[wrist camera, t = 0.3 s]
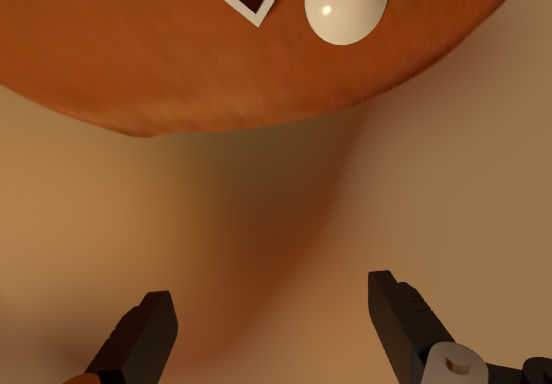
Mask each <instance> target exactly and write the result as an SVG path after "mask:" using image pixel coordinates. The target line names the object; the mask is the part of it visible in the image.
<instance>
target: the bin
mask: <svg viewBox="0 0 552 384" xmlns="http://www.w3.org/2000/svg"><path fill="white" fill-rule="evenodd" d="M225 1H226V2H227V3H229V4H230V5H231V6H232V7H234V8H235V9H236V10H237V11H238V12H240V13H241V14H242V15H243V16H245V17H246V18H247V19H248V20H250V21H251V22H252V23H253V24H254V25H256V26H257V27H259V25H260V24H261V22H262V20H263V19H264V17H265V16H266V14H267V12H268V11H269V9H270V7H271V6H272V4H273V2H274V1H275V0H263V1H262V3H261V4H260V6H259V8H258V10H257V11H256V13H253V12H252V11H251V10H250V9H249V8H247V7H246V6H245V5H244V4H243V3H241V2H240V1H239V0H225Z"/></svg>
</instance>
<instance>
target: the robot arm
mask: <svg viewBox="0 0 552 384" xmlns="http://www.w3.org/2000/svg"><path fill="white" fill-rule="evenodd" d="M368 308H369V313H370V317H371V320H372V323H373V325H374V327H375V329H376V332H377V334H378V336H379V339H380V341H381V343H382V345H383V348H384V350H385V352H386V354H387V357H388V359H389V361H390V364H391V366H392V368H393V370H394V373H395V375H396V377H397V379H398V382H399V384H552V359H549V358H544V357H532V358H529V359H527V360H526V361H525V362H524V364H523V368H522V370H519V369H514V368H508V367H503V366H497V365H493V364H489V363H486V362H484V360H483V359H482V358H481V357H480V356H479V355H478V354H477V353H475V352H474V351H473V350H471V349H470V348H468V347H466V346H463V345H461V344H458V343H456V342H455V340H454V339H453V338H452V336H451V335H450V334H449V333H448V331H447V330H446V329H445V327H444V326H443V324H442V323H441V322H440V320H439V319H438V318H437V316H436V315H435V314H434V313H433V311H431V309H430V307H429V306H428V305H427V303H426V302H424V299H423V298H422V297H421V295H420V294H419V292H418V291H417V290H416V289H415V288H413V287H412V286H410V285H409V284H407V283H406V282H400V283H397V281H396V280H395V278H394V277H393V275H392V274H391V272H390V271H389V270H385V271H374V272H369V273H368ZM177 332H178V322H177V317H176V313H175V310H174V306H173V302H172V298H171V295H170V292H169V291H156V292H148V293H147V294H146V296H145V297H144V299H143V300H142V302H141V303H140V305H139V306H136V307H133V308H132V309H131V310H130V311H129V312H127V314H125V315H124V316H123V317H122V318H121V320H120V321H119V323H118V324H117V326H116V327H115V330H113V331H112V333H111V334H110V336H109V339H107V340H106V342H105V343H104V345H103V346H102V347H101V349H100V350H99V352H98V353H97V355H96V356H95V357H94V359H93V360H92V362H91V363H90V365H89V366H88V368H87V369H86V371H85V372H84V374H81V375H78V376H75V377H73V378H71V379H69V380H68V381H66V382H65V383H63V384H158V382H159V380H160V377H161V375H162V372H163V369H164V367H165V364H166V362H167V360H168V357H169V355H170V352H171V350H172V347H173V345H174V342H175V340H176V337H177Z"/></svg>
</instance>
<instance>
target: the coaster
mask: <svg viewBox="0 0 552 384" xmlns="http://www.w3.org/2000/svg"><path fill="white" fill-rule="evenodd" d="M386 4H387V0H304V7H305V13H306V17H307V19H308V22H309V24H310V26H311V28H312V29H313V31H314V32H315V33H316V34H317V35H318V36H319V37H320V38H322V39H323V40H325V41H327V42H329V43H332V44H336V45H347V44H351V43H354V42H357V41H359V40H361V39H362V38H364V37H365V36H366V35H368V34H369V33H370V32H371V31H372V30H373V29H374V27H375V26H376V25H377V23H378V22H379V20H380V18H381V17H382V15H383V12H384V10H385V7H386Z"/></svg>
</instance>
